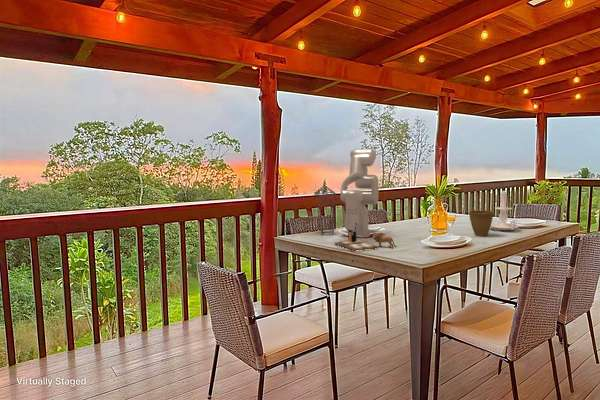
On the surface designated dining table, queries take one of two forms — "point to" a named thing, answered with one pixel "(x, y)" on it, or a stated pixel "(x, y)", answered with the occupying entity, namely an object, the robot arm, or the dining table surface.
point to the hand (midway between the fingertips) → (352, 240)
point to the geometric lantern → (325, 205)
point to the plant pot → (481, 222)
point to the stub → (351, 241)
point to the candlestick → (504, 216)
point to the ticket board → (356, 246)
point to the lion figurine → (382, 239)
